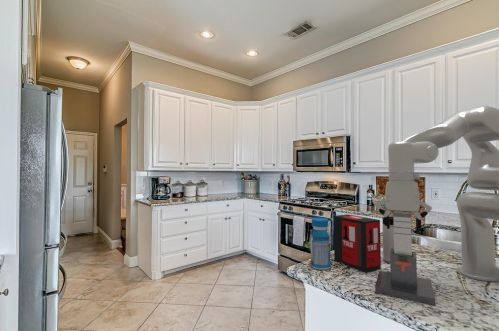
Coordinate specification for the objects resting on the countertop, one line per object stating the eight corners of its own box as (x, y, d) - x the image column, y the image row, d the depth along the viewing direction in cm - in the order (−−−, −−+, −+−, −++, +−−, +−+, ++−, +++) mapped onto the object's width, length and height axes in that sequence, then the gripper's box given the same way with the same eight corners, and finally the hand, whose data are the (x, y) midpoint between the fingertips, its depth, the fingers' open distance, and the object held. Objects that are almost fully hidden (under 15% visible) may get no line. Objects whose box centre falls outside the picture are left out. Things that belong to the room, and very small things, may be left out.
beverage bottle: (319, 271, 102) (318, 221, 102) (306, 264, 109) (305, 217, 110) (335, 268, 105) (334, 219, 106) (322, 262, 113) (321, 216, 113)
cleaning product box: (380, 269, 104) (379, 219, 105) (366, 273, 100) (365, 221, 101) (348, 257, 119) (347, 214, 119) (334, 260, 115) (333, 215, 115)
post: (412, 262, 87) (411, 212, 88) (412, 267, 83) (411, 214, 84) (394, 260, 90) (393, 211, 91) (394, 264, 86) (393, 213, 86)
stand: (431, 285, 89) (430, 250, 89) (435, 305, 75) (434, 264, 76) (379, 275, 97) (379, 244, 98) (375, 292, 84) (374, 255, 84)
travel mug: (402, 264, 109) (401, 217, 110) (385, 263, 110) (384, 217, 111) (397, 259, 115) (396, 215, 116) (381, 259, 116) (380, 214, 117)
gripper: (431, 178, 86) (433, 230, 86) (374, 177, 95) (375, 225, 95) (433, 178, 80) (435, 235, 79) (372, 178, 89) (373, 228, 88)
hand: (402, 229), depth 87 cm, fingers open, 8 cm apart
